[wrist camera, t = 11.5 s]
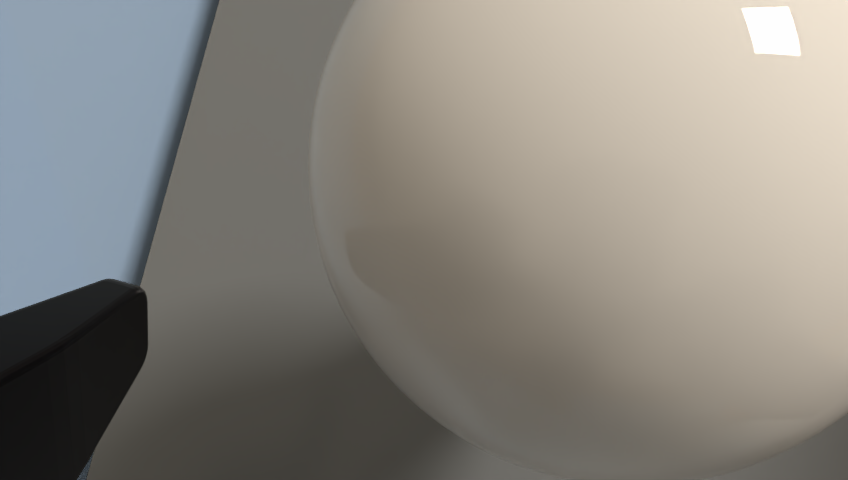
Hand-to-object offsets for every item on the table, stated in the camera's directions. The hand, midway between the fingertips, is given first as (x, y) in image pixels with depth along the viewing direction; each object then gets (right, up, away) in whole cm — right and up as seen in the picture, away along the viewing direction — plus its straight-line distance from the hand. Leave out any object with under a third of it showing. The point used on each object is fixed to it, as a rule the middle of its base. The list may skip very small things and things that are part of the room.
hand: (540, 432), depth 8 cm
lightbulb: (+1, +1, +8) cm, 8 cm away
